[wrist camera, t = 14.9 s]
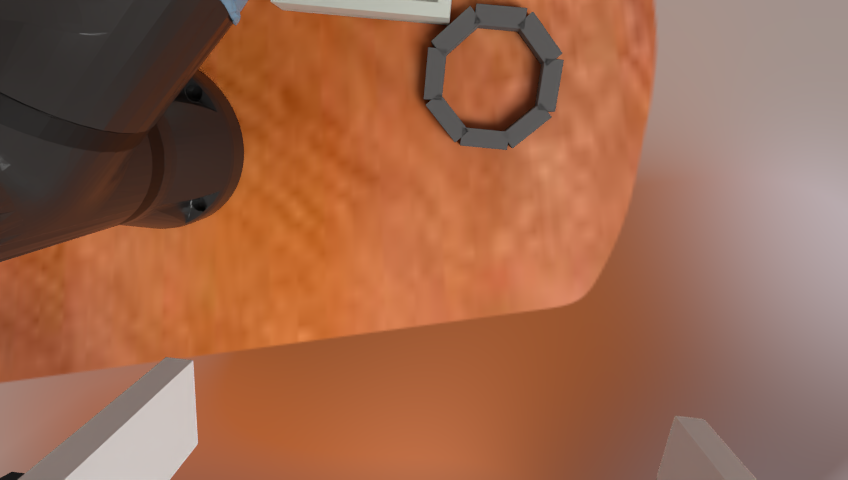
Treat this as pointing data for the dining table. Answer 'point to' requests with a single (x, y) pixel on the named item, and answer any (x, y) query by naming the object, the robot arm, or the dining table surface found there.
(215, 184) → the robot arm
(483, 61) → the dining table surface
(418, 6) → the tray
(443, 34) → the seat ring
